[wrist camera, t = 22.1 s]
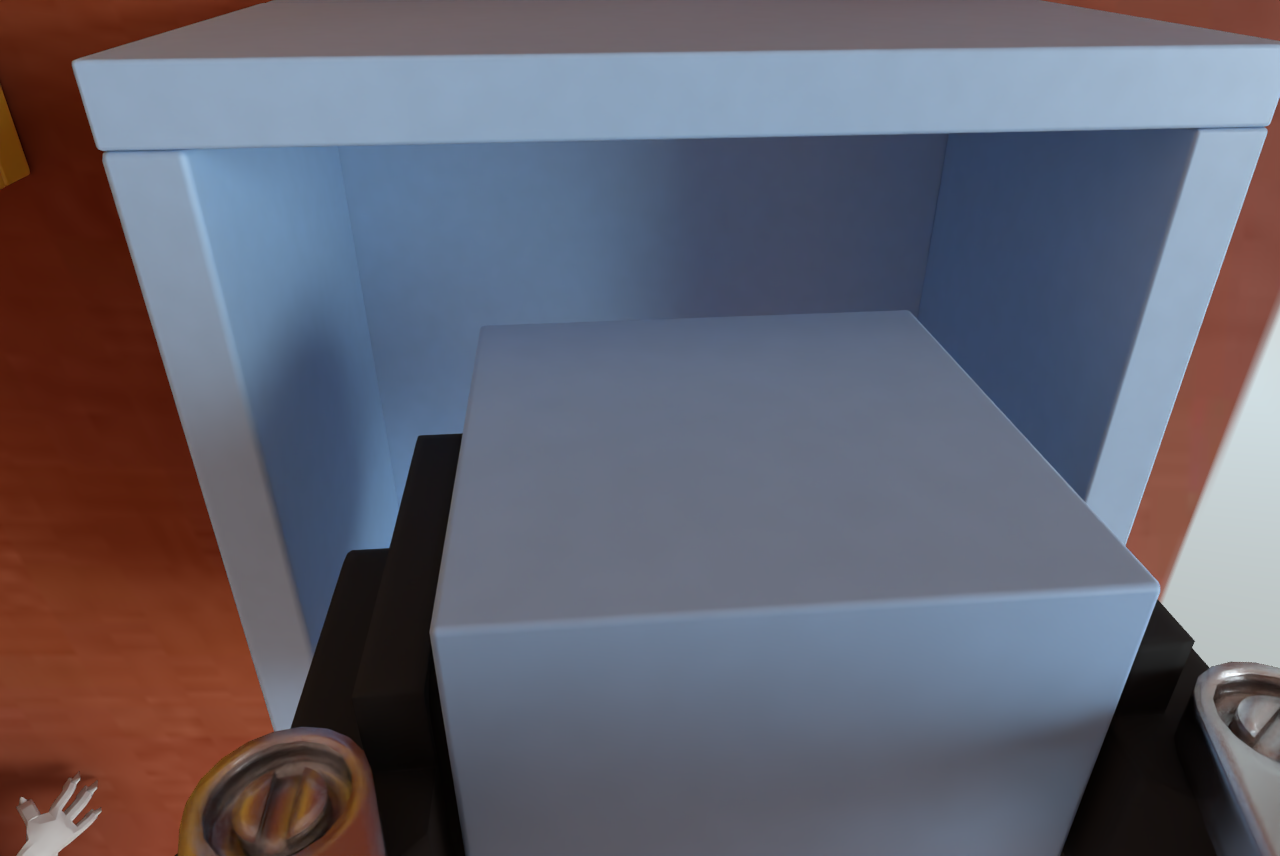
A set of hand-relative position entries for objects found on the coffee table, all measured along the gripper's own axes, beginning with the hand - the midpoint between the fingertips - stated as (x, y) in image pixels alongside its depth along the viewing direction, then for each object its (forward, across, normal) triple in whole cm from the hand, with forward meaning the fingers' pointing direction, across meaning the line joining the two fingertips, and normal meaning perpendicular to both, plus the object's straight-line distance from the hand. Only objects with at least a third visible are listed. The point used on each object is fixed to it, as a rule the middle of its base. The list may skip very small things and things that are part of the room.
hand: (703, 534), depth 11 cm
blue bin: (+7, 0, 0) cm, 7 cm away
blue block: (+1, 0, 0) cm, 1 cm away
